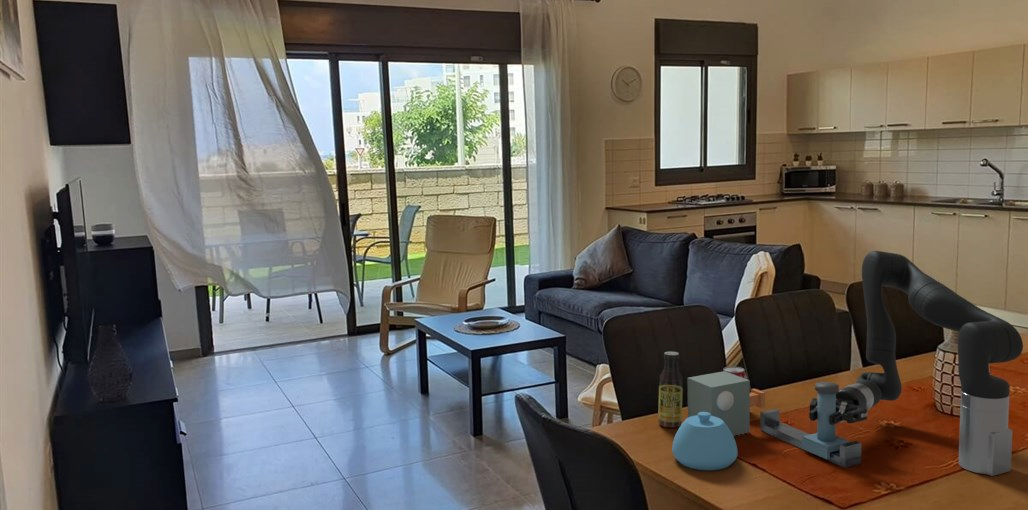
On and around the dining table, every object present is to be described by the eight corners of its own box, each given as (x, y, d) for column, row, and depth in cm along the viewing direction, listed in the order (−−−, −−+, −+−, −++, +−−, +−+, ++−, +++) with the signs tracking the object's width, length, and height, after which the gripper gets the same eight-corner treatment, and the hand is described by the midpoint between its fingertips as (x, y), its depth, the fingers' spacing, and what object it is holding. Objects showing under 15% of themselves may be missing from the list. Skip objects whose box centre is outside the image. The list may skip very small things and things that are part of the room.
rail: (860, 463, 179) (861, 442, 179) (844, 467, 177) (845, 446, 177) (775, 427, 205) (775, 408, 204) (760, 430, 203) (760, 412, 202)
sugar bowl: (660, 454, 190) (659, 408, 188) (712, 444, 195) (712, 399, 193) (695, 477, 176) (694, 428, 174) (750, 465, 181) (750, 417, 179)
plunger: (764, 407, 203) (764, 392, 202) (739, 412, 200) (739, 397, 199) (754, 403, 207) (754, 388, 206) (729, 408, 203) (729, 393, 203)
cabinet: (751, 433, 201) (751, 380, 199) (713, 441, 196) (712, 388, 195) (724, 421, 211) (724, 371, 209) (688, 429, 206) (687, 377, 204)
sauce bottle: (657, 428, 208) (656, 355, 205) (659, 420, 214) (657, 349, 211) (682, 429, 206) (681, 356, 204) (683, 421, 212) (682, 350, 210)
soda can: (744, 406, 223) (744, 365, 221) (749, 414, 216) (749, 372, 214) (719, 406, 223) (719, 365, 222) (723, 414, 216) (723, 372, 215)
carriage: (850, 453, 184) (852, 386, 182) (827, 459, 181) (827, 391, 179) (825, 442, 191) (825, 378, 189) (801, 448, 188) (802, 383, 186)
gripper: (824, 381, 199) (792, 397, 187) (882, 392, 189) (851, 409, 177) (824, 409, 200) (792, 427, 188) (881, 421, 190) (851, 441, 178)
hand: (821, 418), depth 183 cm, fingers closed on carriage, 4 cm apart
